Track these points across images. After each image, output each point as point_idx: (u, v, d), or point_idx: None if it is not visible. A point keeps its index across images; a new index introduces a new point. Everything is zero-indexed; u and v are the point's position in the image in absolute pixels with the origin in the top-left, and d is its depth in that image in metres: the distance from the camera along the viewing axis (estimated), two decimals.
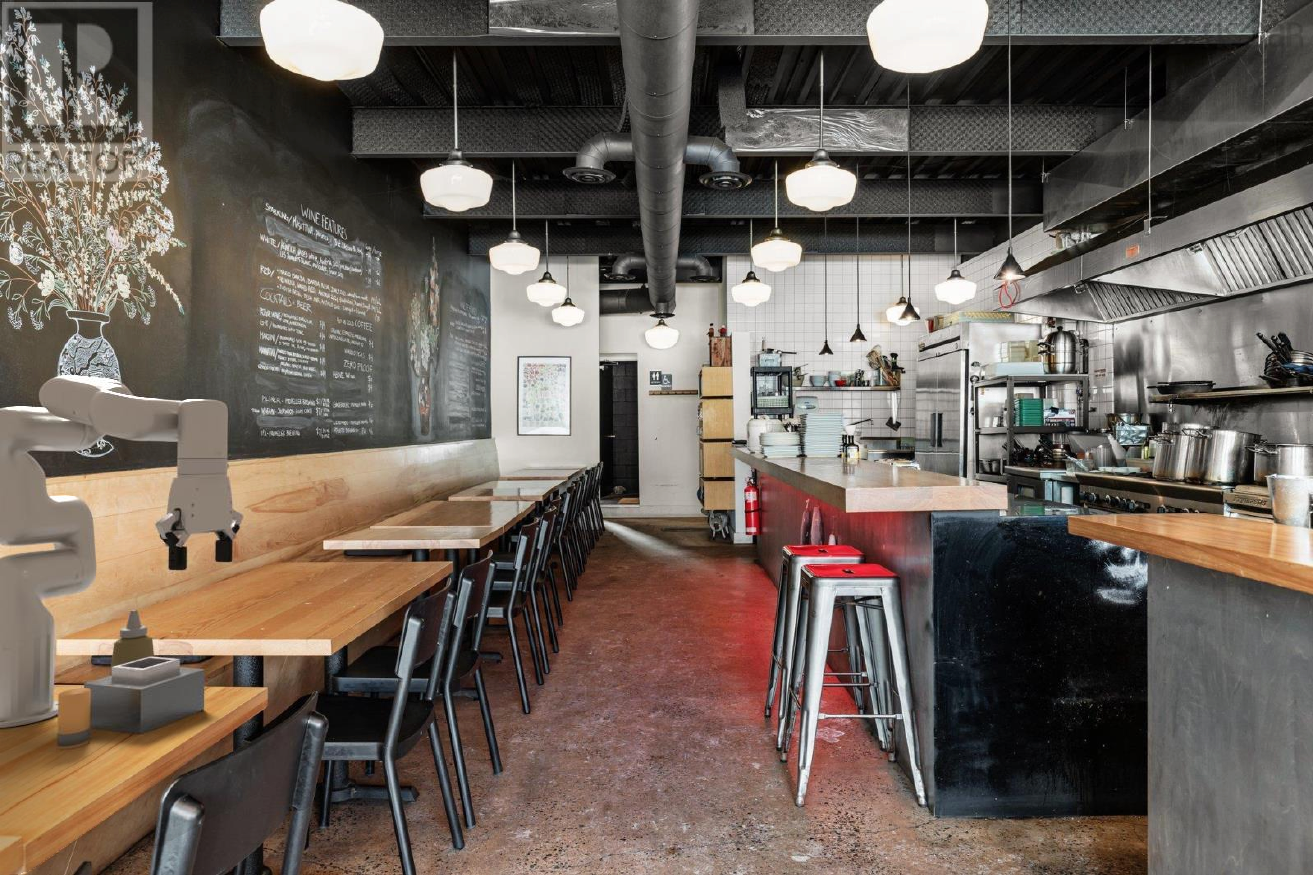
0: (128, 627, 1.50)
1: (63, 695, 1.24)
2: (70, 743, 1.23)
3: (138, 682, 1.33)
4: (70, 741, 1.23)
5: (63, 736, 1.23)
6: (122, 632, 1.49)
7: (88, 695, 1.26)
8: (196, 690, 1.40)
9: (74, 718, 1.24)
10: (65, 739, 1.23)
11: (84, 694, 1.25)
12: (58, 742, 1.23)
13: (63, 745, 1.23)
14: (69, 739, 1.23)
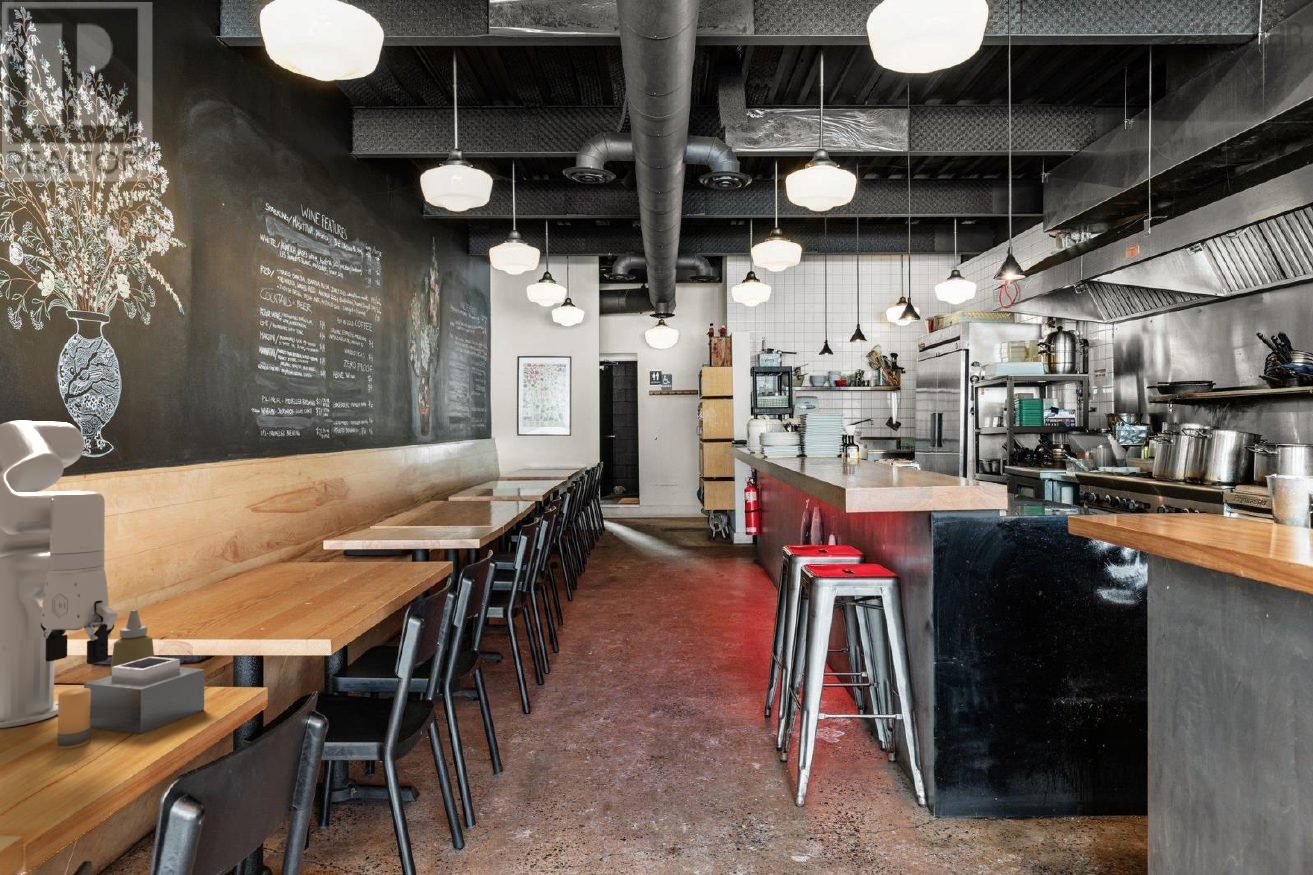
0: (128, 627, 1.50)
1: (63, 695, 1.24)
2: (70, 743, 1.23)
3: (138, 682, 1.33)
4: (70, 741, 1.23)
5: (63, 736, 1.23)
6: (122, 632, 1.49)
7: (88, 695, 1.26)
8: (196, 690, 1.40)
9: (74, 718, 1.24)
10: (65, 739, 1.23)
11: (84, 694, 1.25)
12: (58, 742, 1.23)
13: (63, 745, 1.23)
14: (69, 739, 1.23)
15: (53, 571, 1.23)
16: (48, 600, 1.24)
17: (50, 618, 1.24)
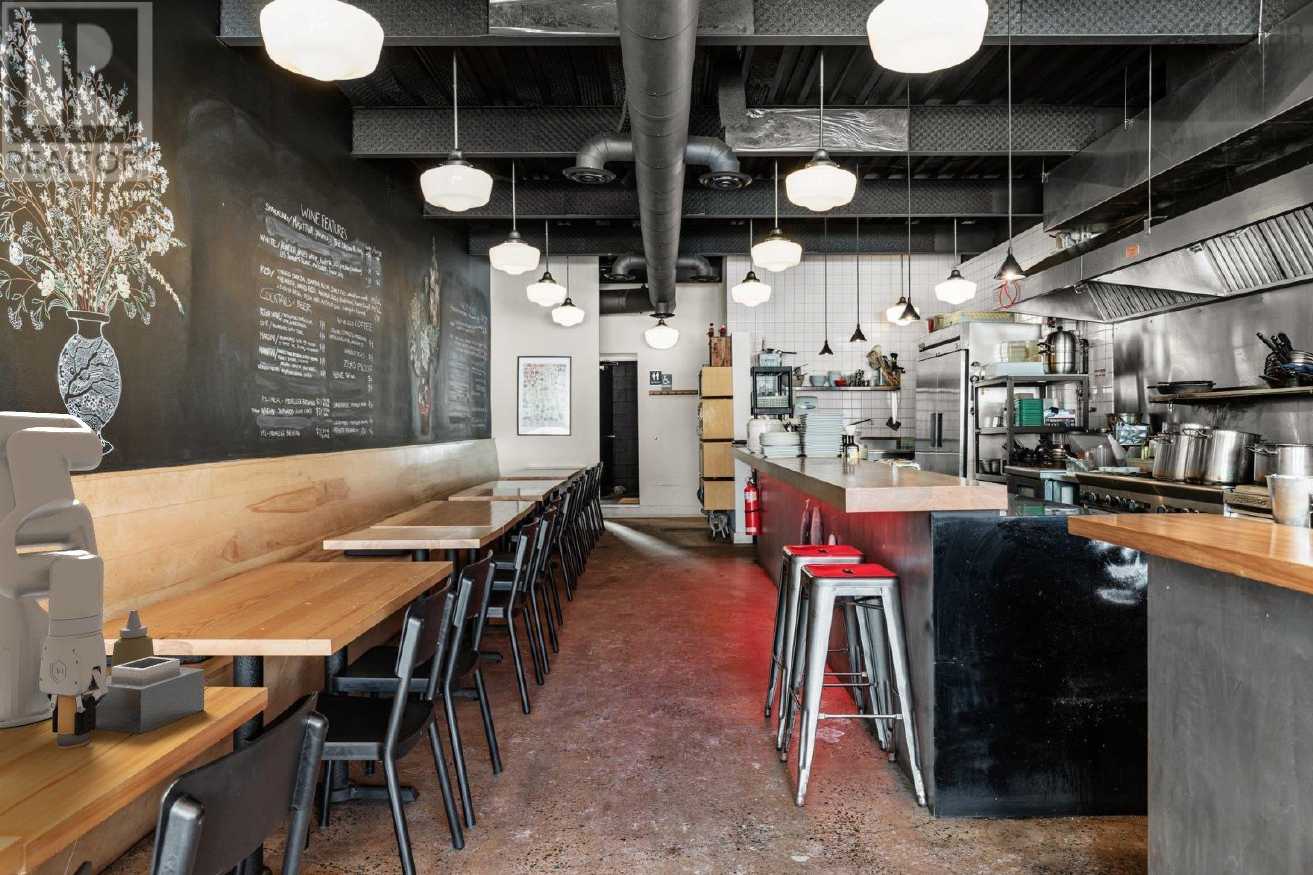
0: (128, 627, 1.50)
1: None
2: (70, 743, 1.23)
3: (138, 682, 1.33)
4: (70, 741, 1.23)
5: (63, 736, 1.23)
6: (122, 632, 1.49)
7: (88, 695, 1.26)
8: (196, 690, 1.40)
9: (74, 718, 1.24)
10: (65, 739, 1.23)
11: None
12: (58, 742, 1.23)
13: (63, 745, 1.23)
14: (69, 739, 1.23)
15: (51, 637, 1.22)
16: (46, 665, 1.24)
17: (48, 683, 1.23)
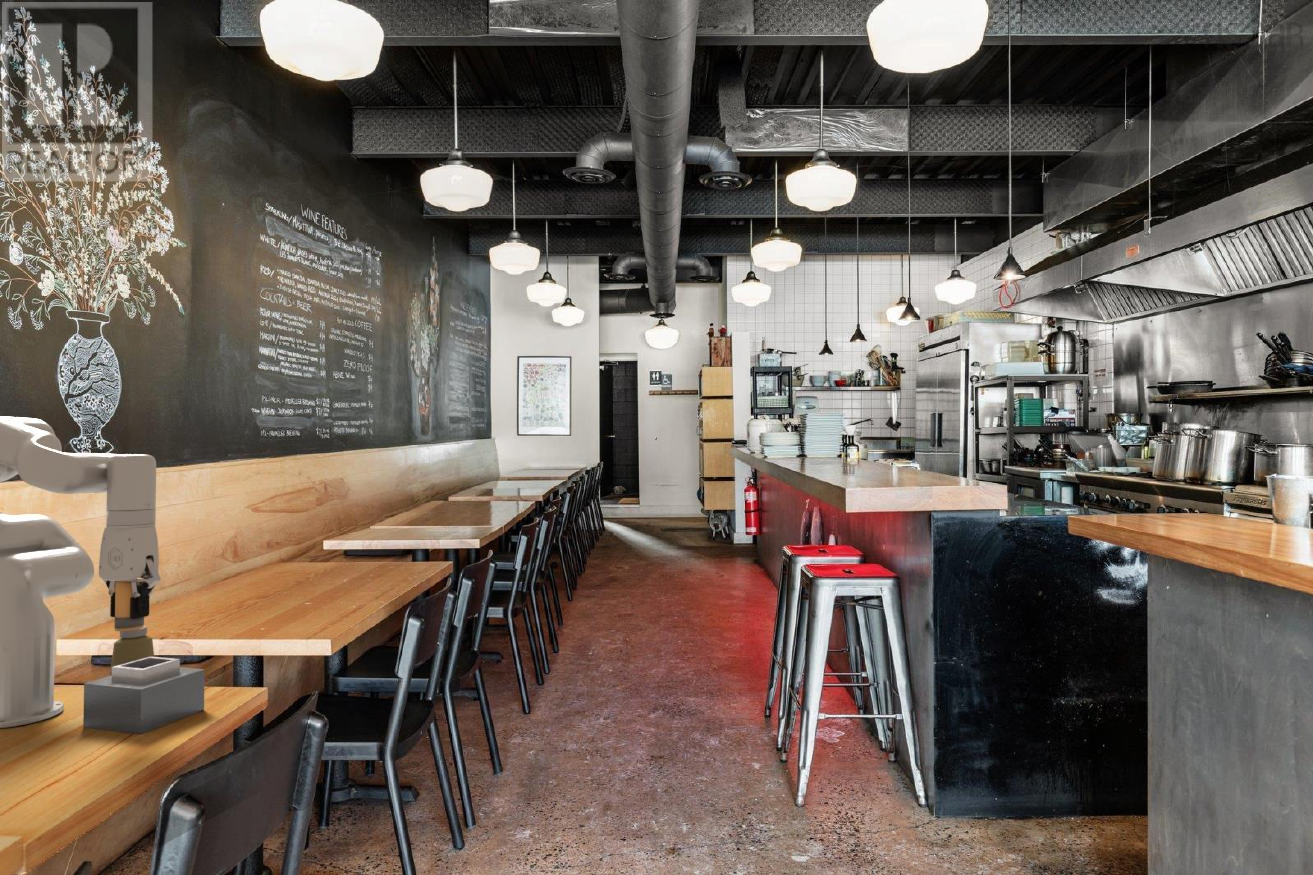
0: None
1: (120, 582, 1.33)
2: (126, 626, 1.33)
3: (138, 682, 1.33)
4: (126, 624, 1.33)
5: (120, 619, 1.33)
6: (122, 632, 1.49)
7: (142, 583, 1.35)
8: (196, 690, 1.40)
9: (129, 603, 1.33)
10: (121, 622, 1.33)
11: None
12: (115, 625, 1.33)
13: (120, 627, 1.33)
14: (125, 622, 1.33)
15: (109, 526, 1.32)
16: (105, 553, 1.34)
17: (106, 570, 1.33)
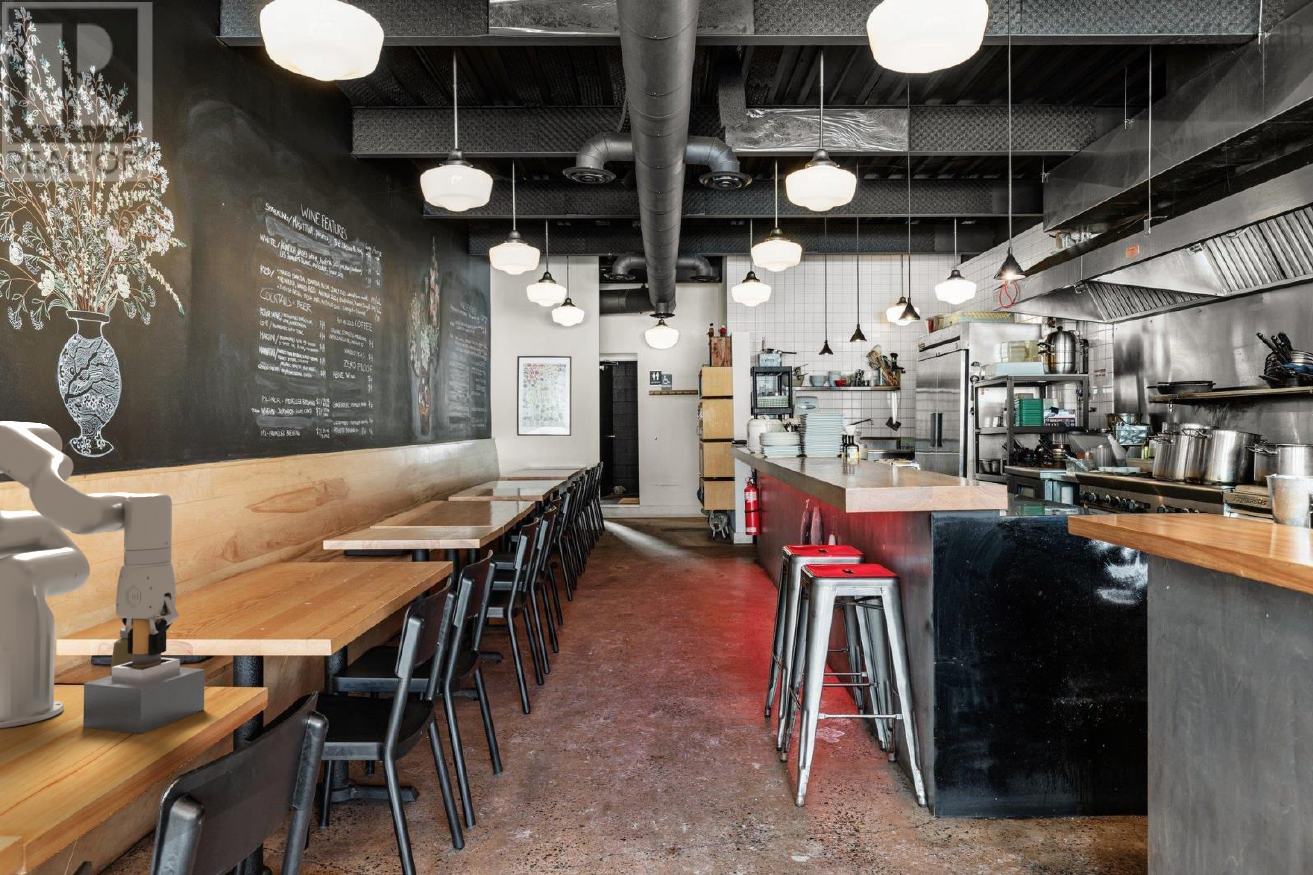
0: None
1: (137, 619, 1.36)
2: (144, 662, 1.36)
3: (138, 682, 1.33)
4: (144, 660, 1.36)
5: (138, 656, 1.36)
6: (122, 632, 1.49)
7: (159, 620, 1.39)
8: (196, 690, 1.40)
9: (147, 640, 1.36)
10: (140, 659, 1.36)
11: None
12: (133, 662, 1.36)
13: (138, 664, 1.36)
14: (143, 659, 1.36)
15: (127, 565, 1.35)
16: (122, 591, 1.37)
17: (124, 608, 1.36)
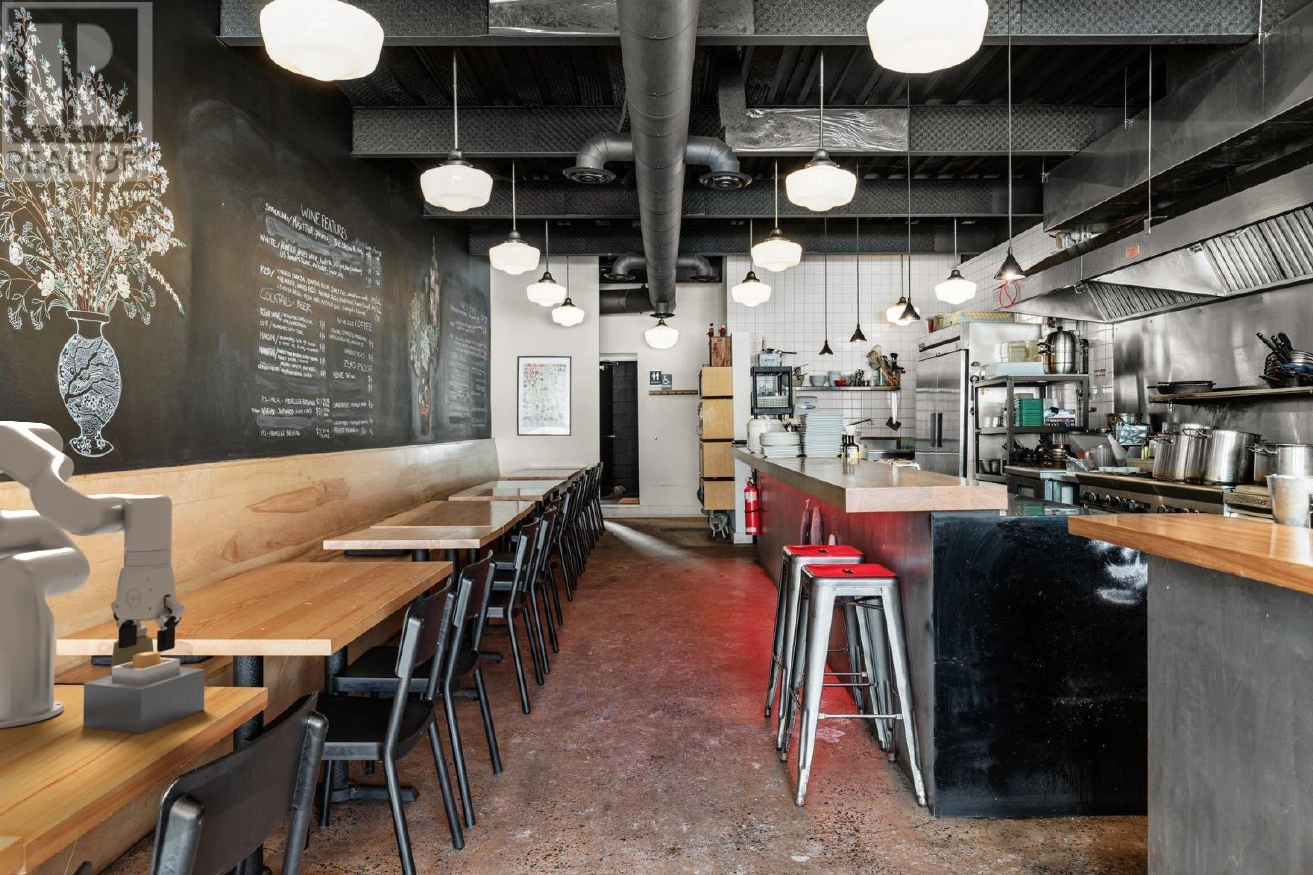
0: None
1: (137, 656, 1.37)
2: None
3: (138, 682, 1.33)
4: None
5: None
6: None
7: (158, 657, 1.39)
8: (196, 690, 1.40)
9: None
10: None
11: (155, 656, 1.38)
12: None
13: None
14: None
15: (127, 567, 1.35)
16: (122, 593, 1.37)
17: (124, 609, 1.36)
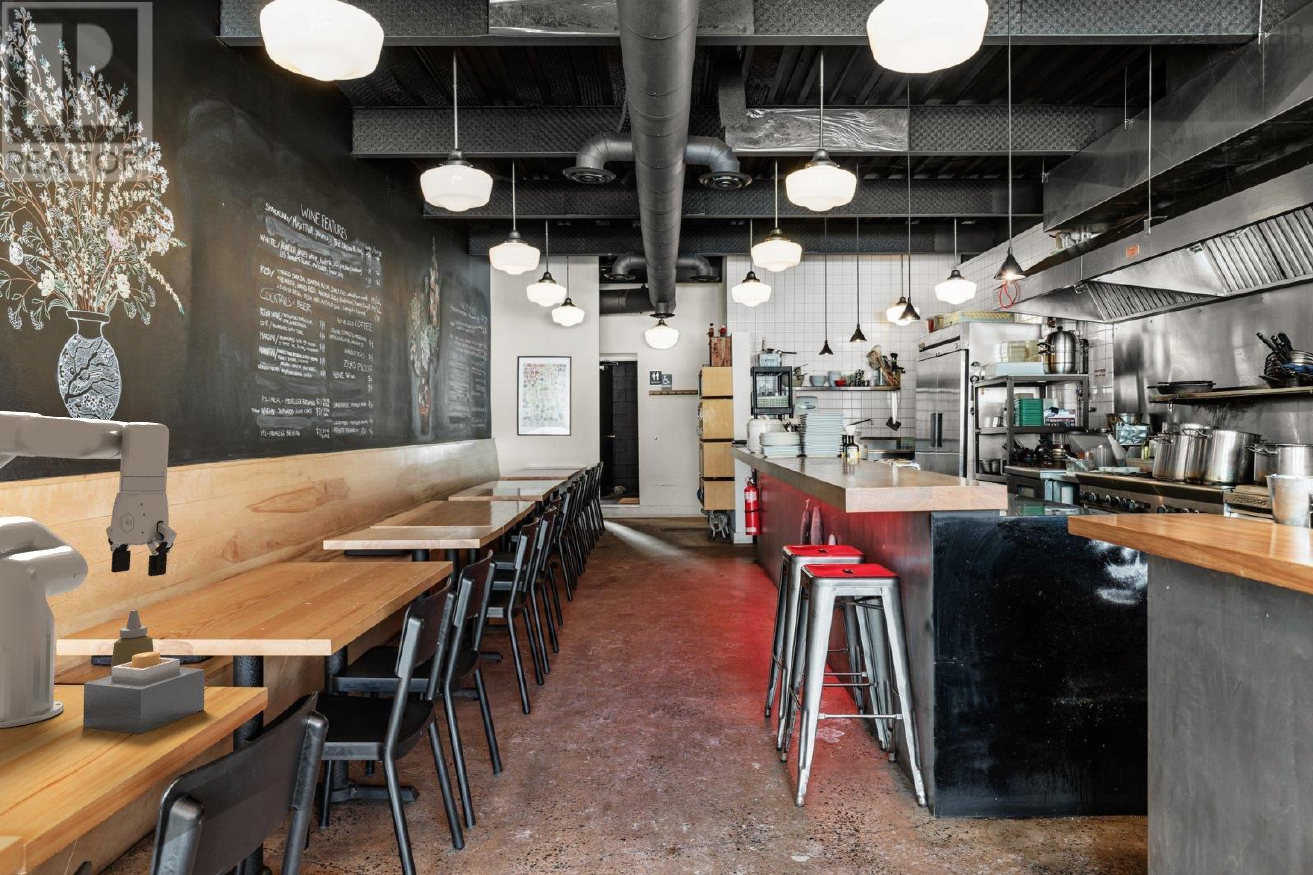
0: (128, 627, 1.50)
1: (136, 657, 1.36)
2: None
3: (138, 682, 1.33)
4: None
5: None
6: (122, 632, 1.49)
7: (158, 658, 1.38)
8: (196, 690, 1.40)
9: None
10: None
11: (155, 657, 1.37)
12: None
13: None
14: None
15: (122, 491, 1.37)
16: (116, 517, 1.39)
17: (117, 533, 1.38)
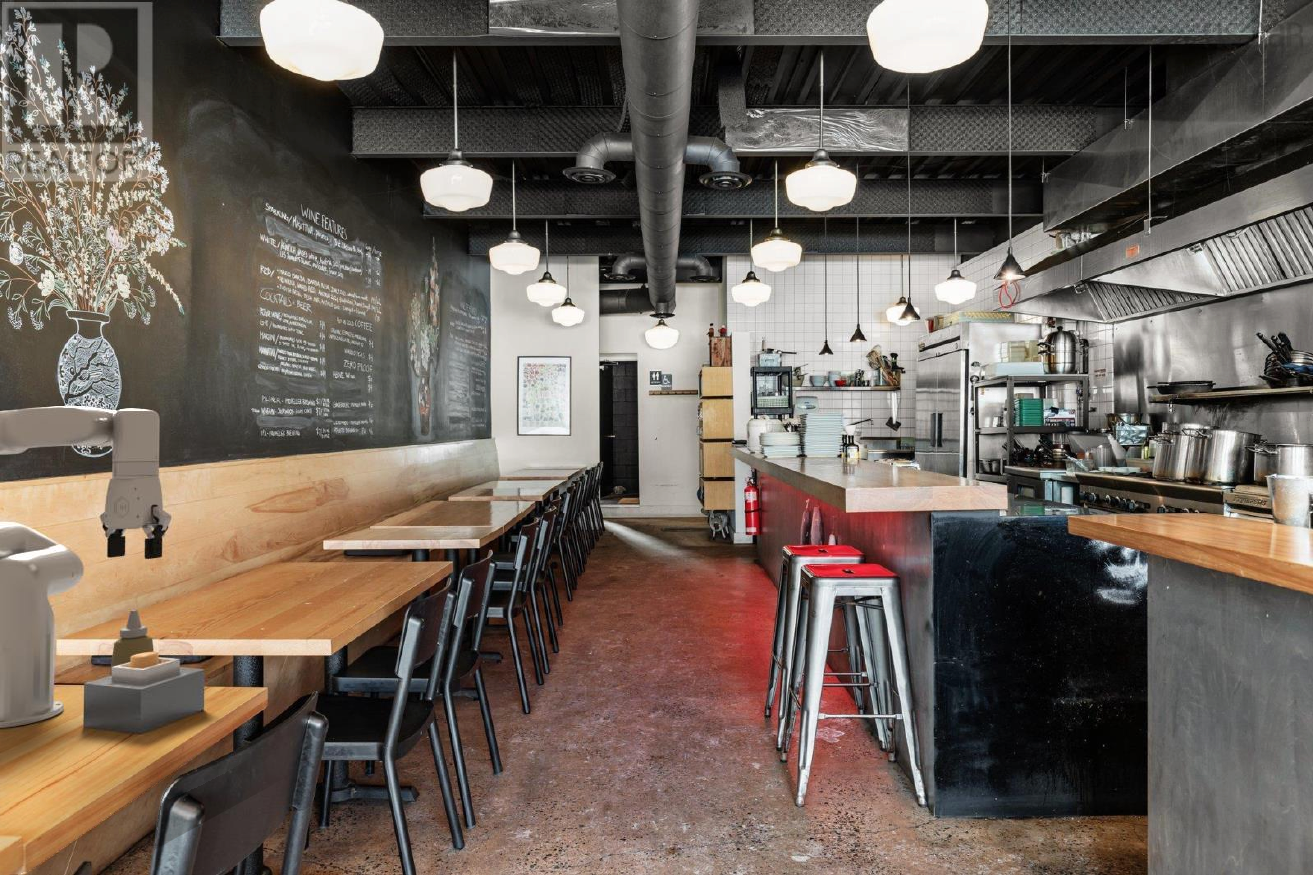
0: (128, 627, 1.50)
1: (135, 657, 1.36)
2: None
3: (138, 682, 1.33)
4: None
5: None
6: (122, 632, 1.49)
7: (156, 658, 1.38)
8: (196, 690, 1.40)
9: None
10: None
11: (153, 657, 1.37)
12: None
13: None
14: None
15: (116, 477, 1.39)
16: (110, 503, 1.41)
17: (112, 518, 1.40)
